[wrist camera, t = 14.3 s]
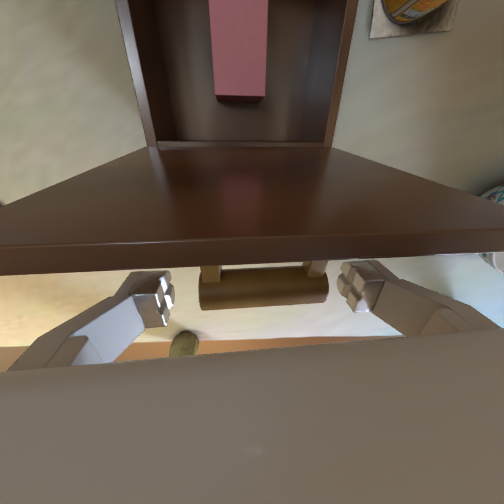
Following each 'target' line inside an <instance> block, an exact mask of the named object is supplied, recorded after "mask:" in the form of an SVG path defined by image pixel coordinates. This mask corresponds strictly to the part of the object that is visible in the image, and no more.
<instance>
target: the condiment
mask: <svg viewBox="0 0 504 504" xmlns="http://www.w3.org/2000/svg"><path fill="white" fill-rule="evenodd" d="M458 1H459V0H375V1H374V10H373V19H372V26H371V33H370V38H381V37H390V36H401V35H410V34H411V35H412V34H418V33H432V32H438V31H448V30H452V26H453V22H454V16H455V13H456V9H457V5H458Z"/></svg>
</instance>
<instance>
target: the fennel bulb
mask: <svg viewBox="0 0 504 504" xmlns="http://www.w3.org/2000/svg"><path fill="white" fill-rule="evenodd" d="M198 344H199V339H198V337H197V336H196V335H195V334H194V333H180V334H178V335H177V336H176V337H175V338H174V339H173V341H172V343H171V346H170V351H169V357H179V356H190V355H196V353H197V349H198Z"/></svg>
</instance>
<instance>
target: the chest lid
mask: <svg viewBox="0 0 504 504" xmlns="http://www.w3.org/2000/svg"><path fill="white" fill-rule="evenodd" d="M497 252H504V205H502V204H499V203H496V202H493V201H490V200H487V199H484V198H481V197H478V196H475V195H472V194H469V193H466V192H463V191H460V190H457V189H454V188H451V187H448V186H445V185H443V184H440V183H437V182H434V181H431V180H428V179H425V178H422V177H419V176H416V175H413V174H410V173H407V172H404V171H401V170H398V169H395V168H392V167H389V166H386V165H383V164H380V163H377V162H374V161H372V160H369V159H366V158H363V157H360V156H357V155H354V154H351V153H348V152H345V151H342V150H339V149H336V148H287V147H144V148H141V149H139V150H137V151H134V152H132V153H129V154H127V155H125V156H122V157H120V158H117V159H115V160H113V161H110V162H108V163H105V164H103V165H101V166H98V167H96V168H93V169H91V170H89V171H86V172H84V173H81V174H79V175H77V176H74V177H72V178H69V179H67V180H65V181H62V182H60V183H58V184H55V185H53V186H50V187H48V188H46V189H43V190H41V191H38V192H36V193H34V194H31V195H29V196H26V197H24V198H22V199H19V200H17V201H14V202H12V203H10V204H7V205H5V206H2V207H0V276H6V275H28V274H49V273H70V272H92V271H113V270H135V269H156V268H177V267H199V266H200V269H201V273H200V276H199V303H200V307H201V310H203V311H205V310H220V309H235V308H250V307H265V306H280V305H295V304H310V303H323V302H325V301H326V300H327V297H328V293H329V283H328V278H327V274H326V272H325V269H326V266H327V263H328V260H348V259H369V258H391V257H412V256H433V255H455V254H476V253H497ZM284 262H303V265H302V266H283V267H263V268H242V269H222V266H221V265H241V264H263V263H284Z"/></svg>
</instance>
